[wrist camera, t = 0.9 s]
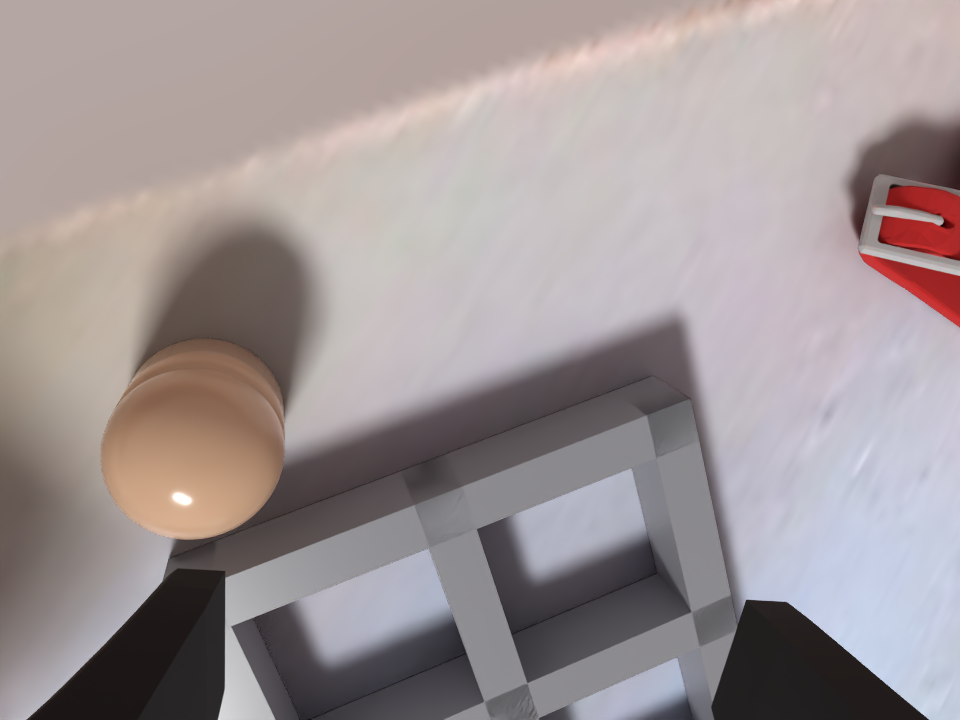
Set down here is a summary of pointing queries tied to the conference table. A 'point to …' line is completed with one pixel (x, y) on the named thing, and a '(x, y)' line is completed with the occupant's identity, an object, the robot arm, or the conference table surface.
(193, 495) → the tan bulbous object
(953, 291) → the tracker holder
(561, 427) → the egg crate
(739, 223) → the conference table surface
